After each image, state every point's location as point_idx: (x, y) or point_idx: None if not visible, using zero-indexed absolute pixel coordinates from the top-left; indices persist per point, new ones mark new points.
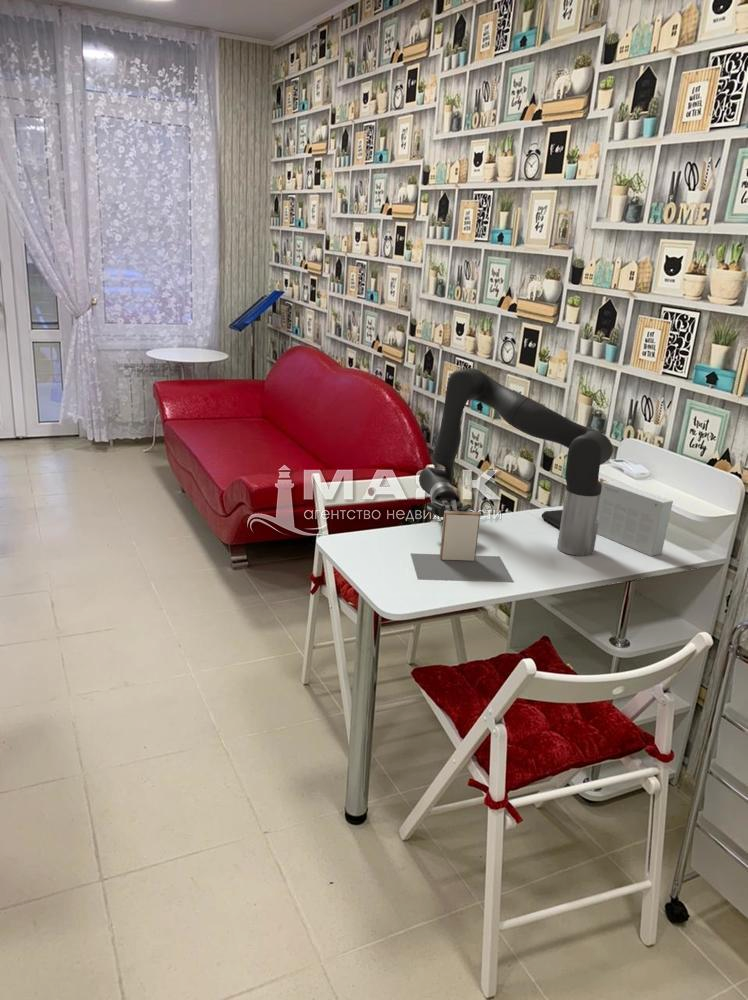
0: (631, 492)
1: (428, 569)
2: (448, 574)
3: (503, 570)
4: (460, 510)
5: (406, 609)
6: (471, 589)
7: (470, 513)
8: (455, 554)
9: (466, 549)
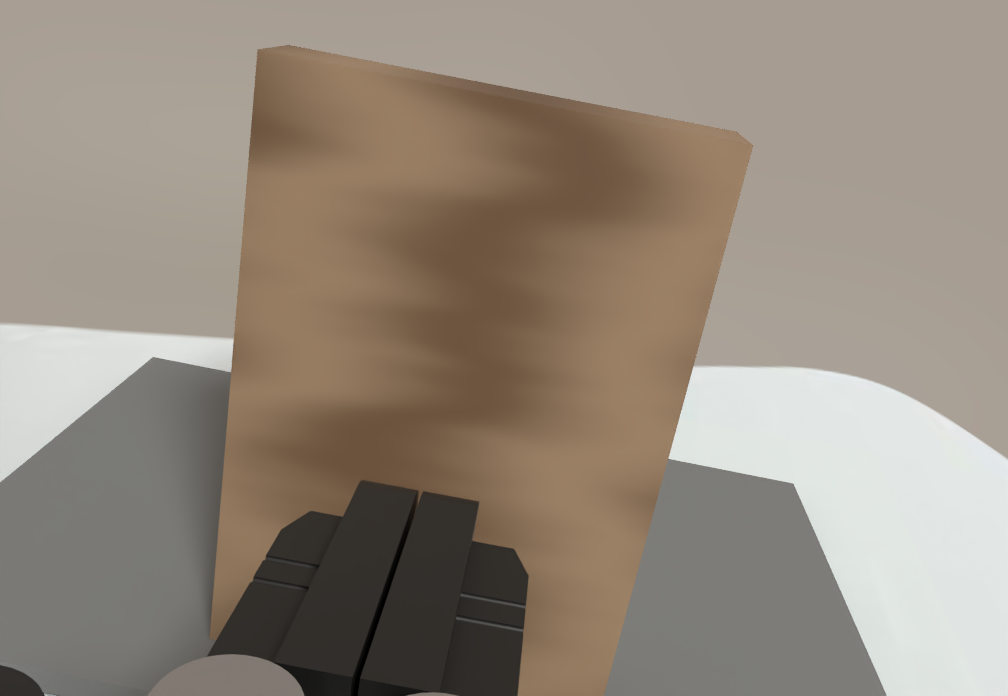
0: None
1: (723, 555)
2: None
3: (90, 444)
4: (20, 693)
5: (811, 373)
6: None
7: (403, 69)
8: None
9: None
